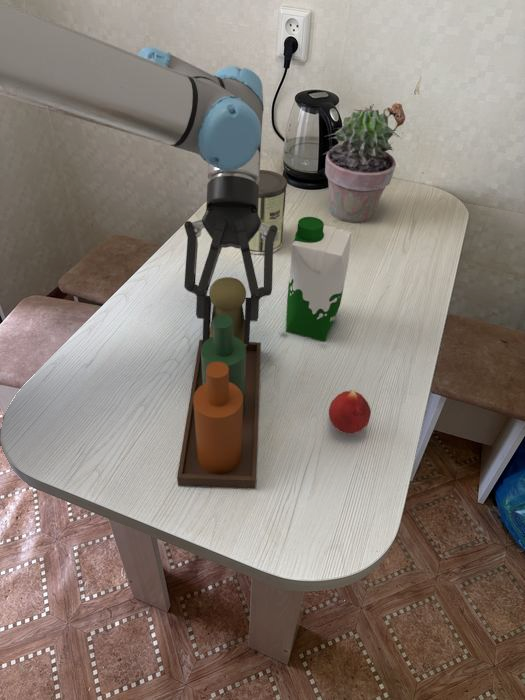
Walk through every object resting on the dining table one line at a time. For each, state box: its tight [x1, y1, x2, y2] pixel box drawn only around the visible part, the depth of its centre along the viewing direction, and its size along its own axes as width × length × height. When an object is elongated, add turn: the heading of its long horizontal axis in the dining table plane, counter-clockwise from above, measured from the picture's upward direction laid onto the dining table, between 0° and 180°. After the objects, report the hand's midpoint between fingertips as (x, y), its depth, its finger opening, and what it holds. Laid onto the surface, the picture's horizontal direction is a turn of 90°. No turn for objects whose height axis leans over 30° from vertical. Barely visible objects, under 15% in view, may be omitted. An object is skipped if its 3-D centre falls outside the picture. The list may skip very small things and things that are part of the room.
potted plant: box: [315, 102, 406, 224], centre depth 113 cm, size 18×20×25 cm
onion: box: [328, 389, 372, 435], centre depth 71 cm, size 6×6×8 cm
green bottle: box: [201, 315, 246, 412], centre depth 69 cm, size 6×6×17 cm
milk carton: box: [285, 216, 352, 342], centre depth 84 cm, size 9×9×20 cm
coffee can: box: [239, 169, 288, 256], centre depth 105 cm, size 10×10×14 cm
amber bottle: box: [193, 362, 243, 474], centre depth 63 cm, size 6×6×17 cm
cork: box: [208, 276, 247, 347], centre depth 74 cm, size 6×6×11 cm
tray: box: [176, 339, 262, 490], centre depth 75 cm, size 10×26×2 cm, turn 179°
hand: (226, 342), depth 73 cm, fingers closed on cork, 5 cm apart
